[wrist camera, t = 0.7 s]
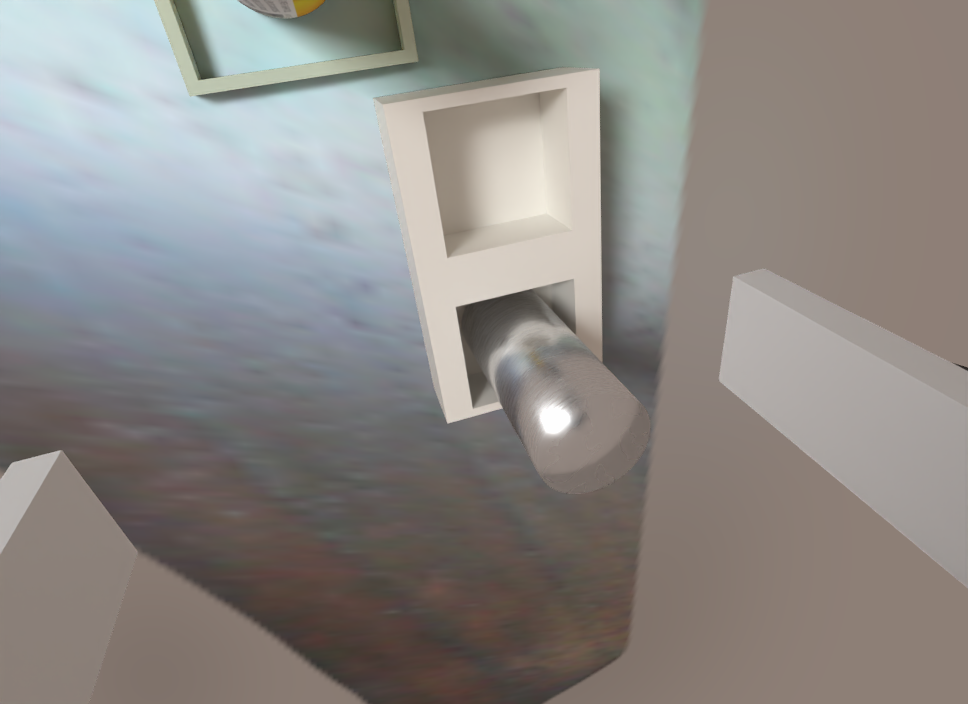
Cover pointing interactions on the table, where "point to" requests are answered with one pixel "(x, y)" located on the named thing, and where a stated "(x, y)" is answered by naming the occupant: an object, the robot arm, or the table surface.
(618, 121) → the table surface
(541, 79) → the dock
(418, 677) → the table surface
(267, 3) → the beer can
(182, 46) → the empty picture frame
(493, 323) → the shiny metal cylinder
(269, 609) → the table surface
